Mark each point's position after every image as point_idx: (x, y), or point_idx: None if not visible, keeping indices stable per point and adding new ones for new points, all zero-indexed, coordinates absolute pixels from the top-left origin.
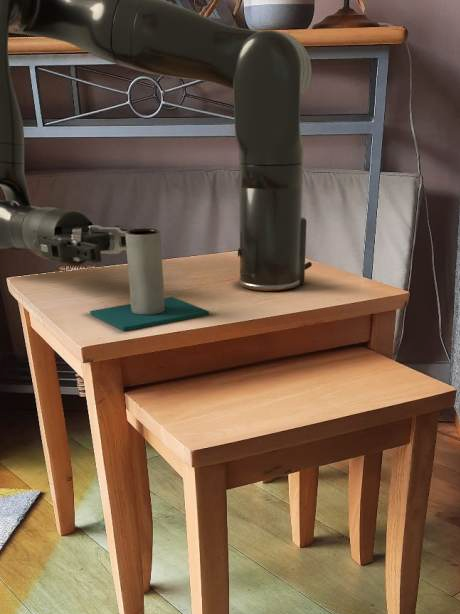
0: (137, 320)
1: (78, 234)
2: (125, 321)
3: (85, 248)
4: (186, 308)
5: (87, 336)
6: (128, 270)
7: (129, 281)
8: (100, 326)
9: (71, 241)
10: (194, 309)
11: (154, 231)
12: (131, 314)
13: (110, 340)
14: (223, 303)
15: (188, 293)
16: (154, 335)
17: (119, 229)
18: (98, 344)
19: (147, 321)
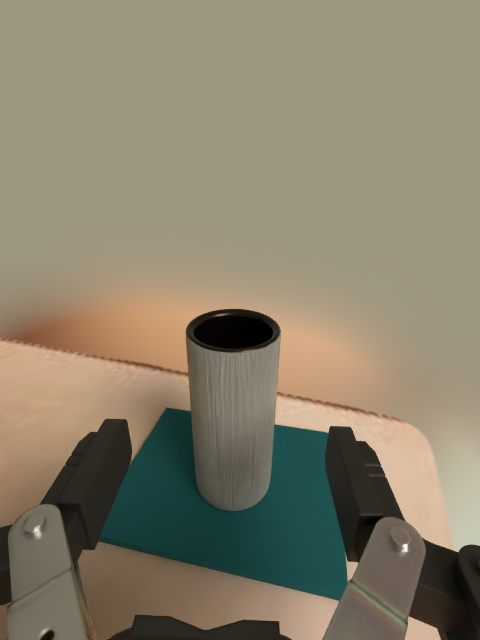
0: (292, 445)
1: (359, 596)
2: (315, 455)
3: (376, 460)
4: (171, 439)
5: (407, 460)
6: (271, 420)
7: (271, 439)
8: None
9: (423, 553)
10: (169, 426)
11: (196, 328)
12: (277, 482)
13: (375, 422)
14: (77, 440)
15: None
16: (304, 401)
17: (28, 593)
18: (400, 421)
19: (282, 431)
